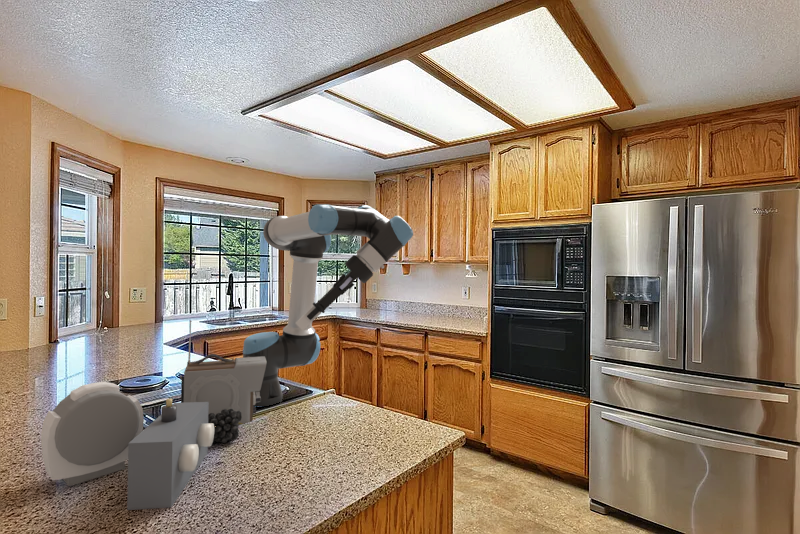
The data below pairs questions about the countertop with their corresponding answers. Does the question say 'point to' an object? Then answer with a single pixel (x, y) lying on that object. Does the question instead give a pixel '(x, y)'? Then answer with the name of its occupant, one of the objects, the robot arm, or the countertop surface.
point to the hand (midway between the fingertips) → (299, 326)
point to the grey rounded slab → (90, 433)
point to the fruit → (225, 425)
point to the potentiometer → (168, 412)
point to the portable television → (224, 383)
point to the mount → (163, 458)
